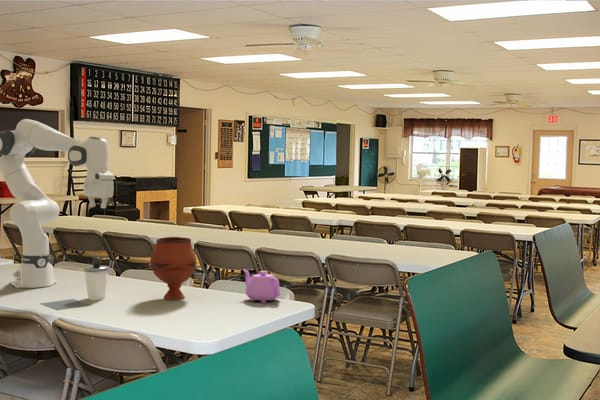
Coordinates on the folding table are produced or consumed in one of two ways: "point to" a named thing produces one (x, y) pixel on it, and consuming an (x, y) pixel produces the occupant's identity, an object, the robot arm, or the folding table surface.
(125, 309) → the folding table surface
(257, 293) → the teapot
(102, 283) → the cup
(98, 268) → the lid
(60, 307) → the mat
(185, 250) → the goblet
